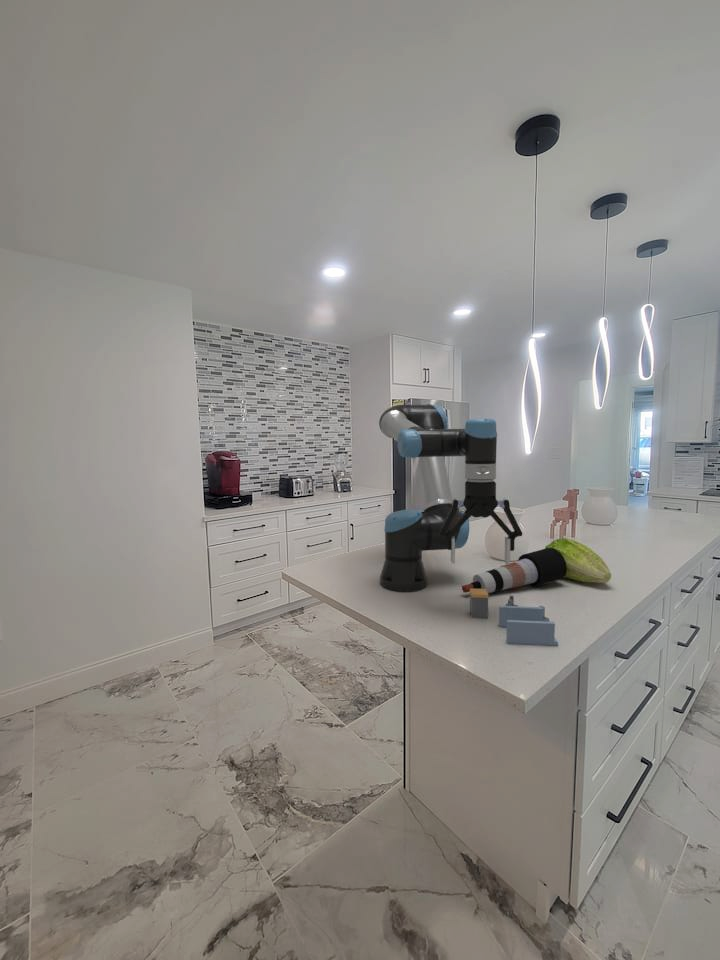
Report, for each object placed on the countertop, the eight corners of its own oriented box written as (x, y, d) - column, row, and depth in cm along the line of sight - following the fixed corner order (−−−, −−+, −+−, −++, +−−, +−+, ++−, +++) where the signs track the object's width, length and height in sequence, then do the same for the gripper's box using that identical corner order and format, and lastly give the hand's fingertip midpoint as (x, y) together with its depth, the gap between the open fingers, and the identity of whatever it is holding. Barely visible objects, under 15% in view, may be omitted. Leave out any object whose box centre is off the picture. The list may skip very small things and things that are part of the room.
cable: (461, 608, 121) (450, 575, 124) (549, 581, 132) (537, 551, 135) (478, 605, 112) (466, 569, 115) (572, 576, 123) (558, 544, 126)
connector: (471, 618, 104) (472, 594, 103) (469, 611, 108) (469, 588, 107) (488, 619, 103) (488, 594, 103) (485, 612, 107) (485, 588, 107)
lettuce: (587, 576, 118) (619, 547, 120) (531, 549, 138) (559, 525, 140) (599, 606, 122) (629, 578, 125) (543, 576, 142) (570, 552, 145)
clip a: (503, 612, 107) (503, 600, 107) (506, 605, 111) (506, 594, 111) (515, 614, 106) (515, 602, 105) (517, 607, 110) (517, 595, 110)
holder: (507, 643, 91) (507, 621, 90) (498, 625, 100) (499, 605, 99) (557, 645, 90) (558, 623, 89) (544, 627, 98) (545, 607, 98)
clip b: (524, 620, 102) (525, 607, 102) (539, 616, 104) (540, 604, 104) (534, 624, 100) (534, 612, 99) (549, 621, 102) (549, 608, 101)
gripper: (431, 482, 100) (431, 565, 102) (536, 481, 97) (534, 567, 99) (429, 479, 108) (430, 557, 109) (527, 478, 104) (526, 559, 106)
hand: (479, 562), depth 104 cm, fingers open, 13 cm apart
